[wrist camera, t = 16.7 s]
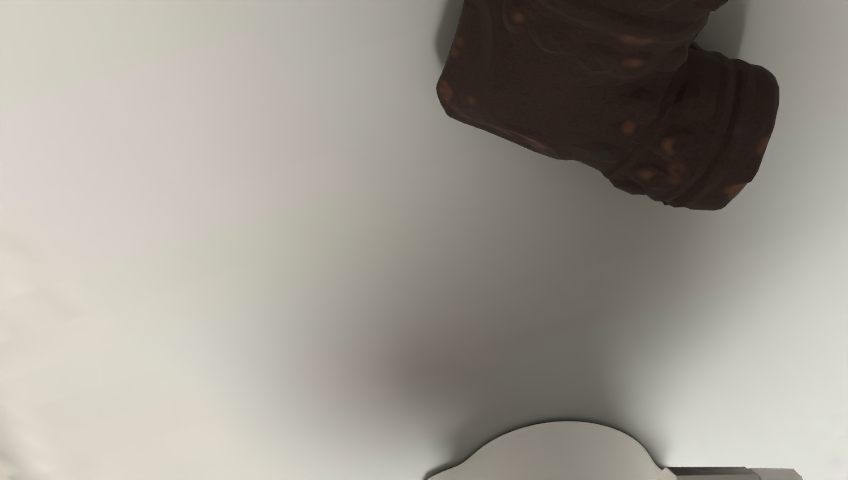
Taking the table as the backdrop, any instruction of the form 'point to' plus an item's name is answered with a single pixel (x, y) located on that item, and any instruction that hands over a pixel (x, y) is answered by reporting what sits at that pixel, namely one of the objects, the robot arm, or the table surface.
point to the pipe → (614, 93)
